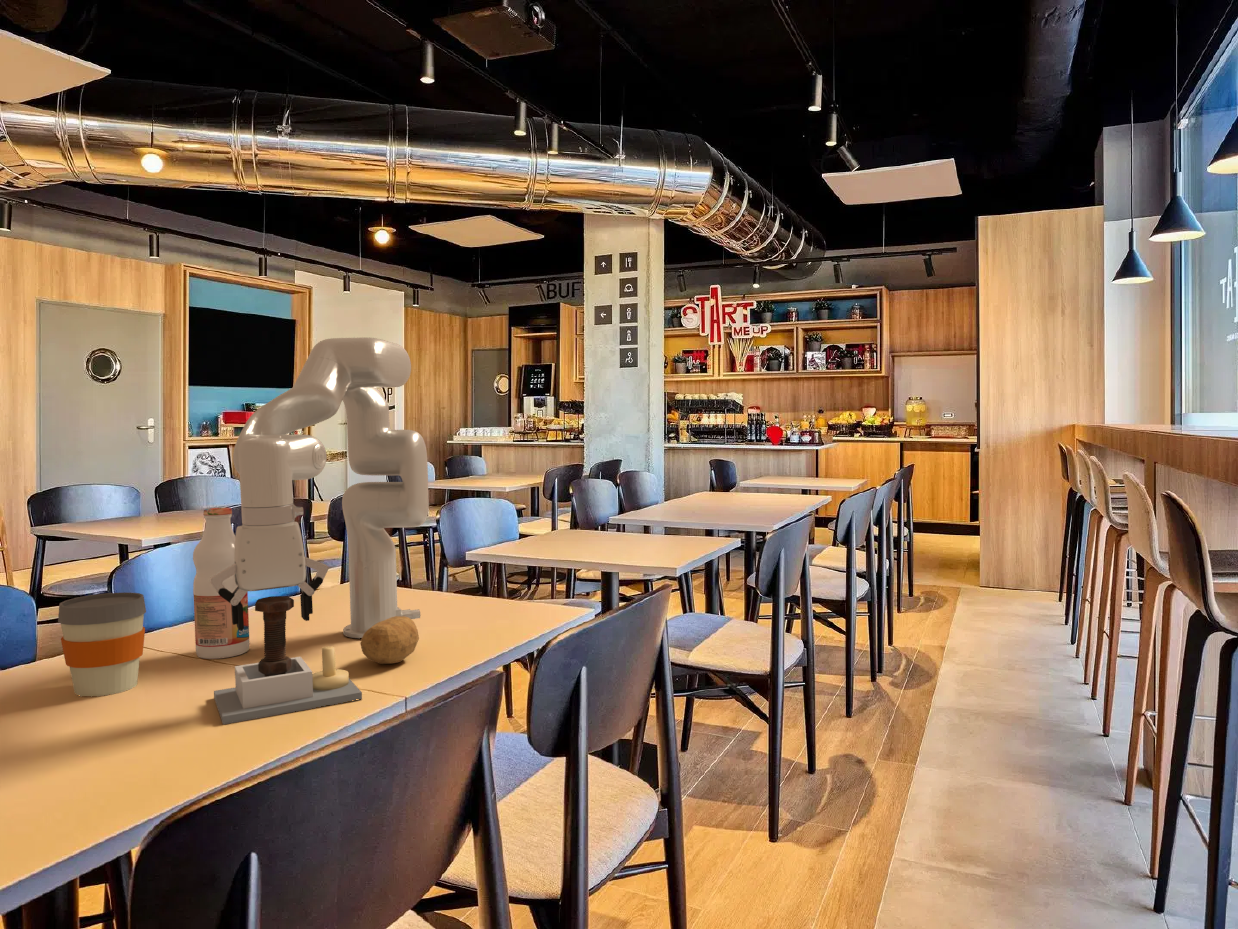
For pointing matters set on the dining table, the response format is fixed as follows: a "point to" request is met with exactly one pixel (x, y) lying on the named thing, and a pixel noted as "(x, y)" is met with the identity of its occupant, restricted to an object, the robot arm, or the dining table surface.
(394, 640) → the potato
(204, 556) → the fruit juice
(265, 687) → the board
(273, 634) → the bolt
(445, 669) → the dining table surface
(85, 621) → the reusable coffee cup
